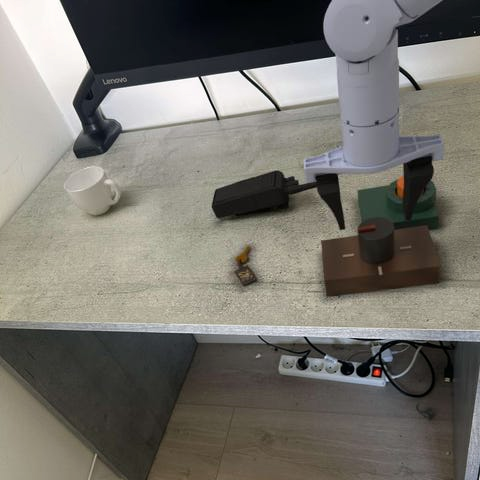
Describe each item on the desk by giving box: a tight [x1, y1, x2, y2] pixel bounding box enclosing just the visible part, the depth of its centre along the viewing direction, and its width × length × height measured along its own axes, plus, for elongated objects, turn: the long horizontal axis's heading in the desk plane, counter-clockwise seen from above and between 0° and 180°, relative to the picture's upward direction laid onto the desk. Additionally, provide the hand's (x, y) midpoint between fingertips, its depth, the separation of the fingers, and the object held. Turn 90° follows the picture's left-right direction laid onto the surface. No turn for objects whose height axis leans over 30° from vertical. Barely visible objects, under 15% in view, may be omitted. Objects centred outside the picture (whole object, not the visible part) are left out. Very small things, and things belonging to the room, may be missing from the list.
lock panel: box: [320, 225, 441, 297], centre depth 64 cm, size 14×9×3 cm, turn 87°
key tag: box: [234, 245, 258, 287], centre depth 72 cm, size 8×3×1 cm, turn 7°
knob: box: [357, 217, 394, 263], centre depth 62 cm, size 4×4×4 cm
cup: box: [63, 166, 122, 217], centre depth 90 cm, size 8×10×7 cm
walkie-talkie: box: [211, 169, 317, 219], centre depth 78 cm, size 6×6×20 cm
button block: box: [357, 178, 440, 230], centre depth 71 cm, size 10×9×4 cm
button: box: [397, 175, 424, 198], centre depth 68 cm, size 4×4×2 cm
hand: (374, 219), depth 59 cm, fingers open, 7 cm apart
